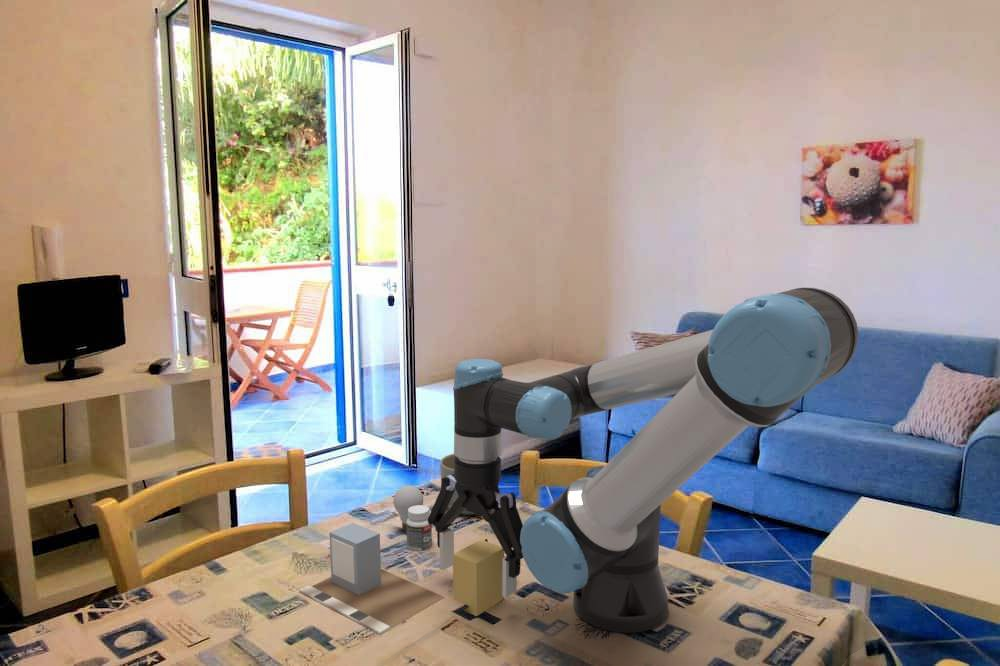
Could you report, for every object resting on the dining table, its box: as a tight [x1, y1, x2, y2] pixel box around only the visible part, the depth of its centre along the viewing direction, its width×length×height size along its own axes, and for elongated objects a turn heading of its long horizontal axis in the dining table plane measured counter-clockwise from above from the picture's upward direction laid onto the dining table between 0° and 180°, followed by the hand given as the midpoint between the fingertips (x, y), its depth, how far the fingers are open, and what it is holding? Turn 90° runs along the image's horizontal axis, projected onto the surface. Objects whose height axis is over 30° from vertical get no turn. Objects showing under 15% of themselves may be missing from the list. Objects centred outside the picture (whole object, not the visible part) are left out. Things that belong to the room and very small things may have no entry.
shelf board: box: [298, 568, 445, 636], centre depth 122 cm, size 20×14×2 cm
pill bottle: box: [406, 505, 433, 552], centre depth 139 cm, size 5×5×8 cm
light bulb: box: [392, 484, 424, 532], centre depth 147 cm, size 6×6×10 cm
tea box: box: [452, 539, 505, 617], centre depth 121 cm, size 5×7×9 cm
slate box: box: [328, 522, 382, 595], centre depth 125 cm, size 5×7×9 cm
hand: (477, 580), depth 121 cm, fingers open, 13 cm apart
